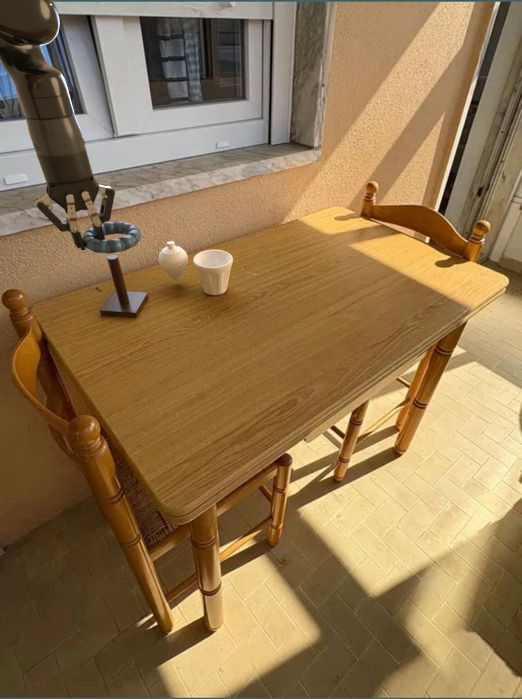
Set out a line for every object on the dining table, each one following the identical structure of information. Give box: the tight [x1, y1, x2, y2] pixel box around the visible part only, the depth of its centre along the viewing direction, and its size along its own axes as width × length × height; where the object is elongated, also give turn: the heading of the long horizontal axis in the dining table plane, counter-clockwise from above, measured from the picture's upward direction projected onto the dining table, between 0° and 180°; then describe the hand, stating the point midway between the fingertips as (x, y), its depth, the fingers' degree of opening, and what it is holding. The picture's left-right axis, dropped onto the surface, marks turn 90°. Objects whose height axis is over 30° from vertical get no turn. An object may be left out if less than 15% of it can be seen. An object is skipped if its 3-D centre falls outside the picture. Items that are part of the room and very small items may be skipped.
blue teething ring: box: [81, 220, 142, 255], centre depth 74 cm, size 11×11×2 cm
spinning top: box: [157, 240, 189, 285], centre depth 100 cm, size 8×8×12 cm
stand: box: [98, 254, 149, 319], centre depth 91 cm, size 9×9×14 cm
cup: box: [192, 249, 234, 297], centre depth 99 cm, size 10×10×9 cm
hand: (91, 246), depth 73 cm, fingers closed on blue teething ring, 2 cm apart
